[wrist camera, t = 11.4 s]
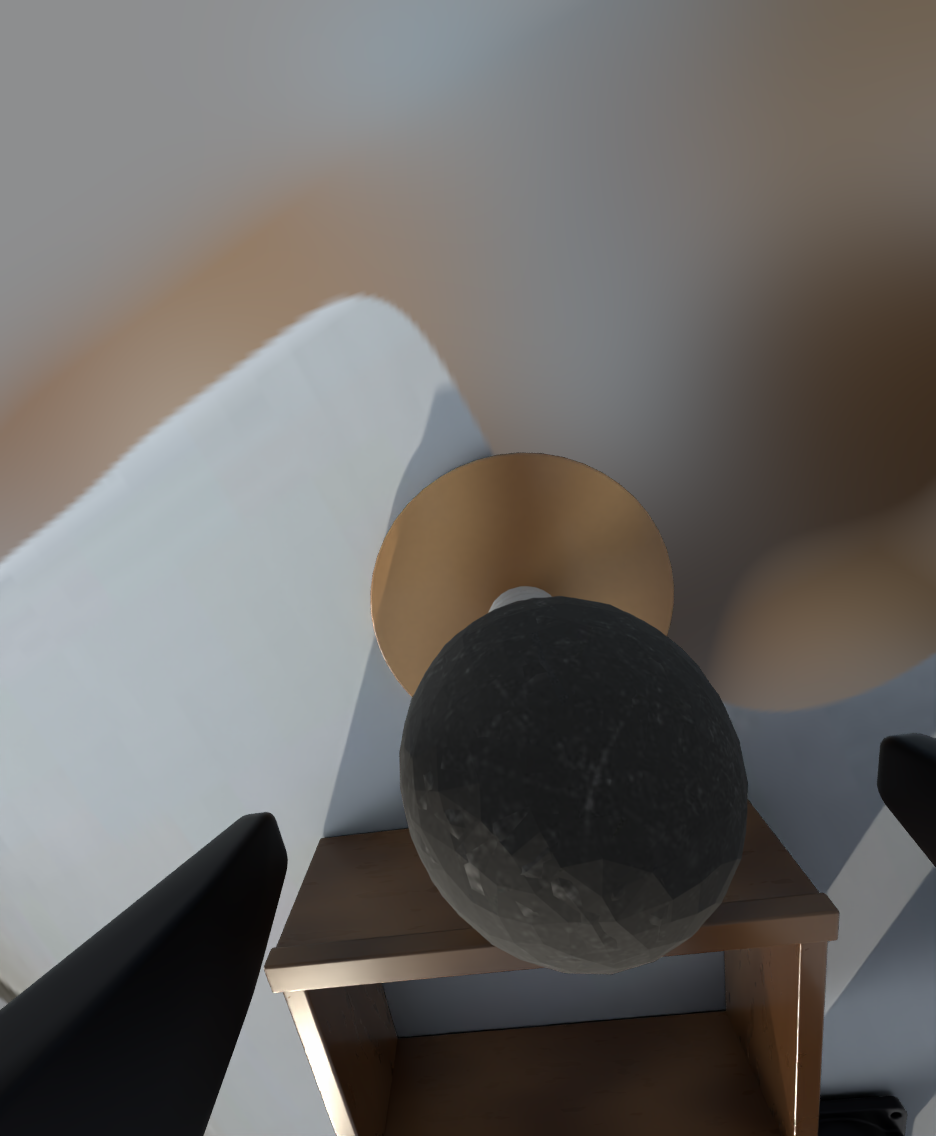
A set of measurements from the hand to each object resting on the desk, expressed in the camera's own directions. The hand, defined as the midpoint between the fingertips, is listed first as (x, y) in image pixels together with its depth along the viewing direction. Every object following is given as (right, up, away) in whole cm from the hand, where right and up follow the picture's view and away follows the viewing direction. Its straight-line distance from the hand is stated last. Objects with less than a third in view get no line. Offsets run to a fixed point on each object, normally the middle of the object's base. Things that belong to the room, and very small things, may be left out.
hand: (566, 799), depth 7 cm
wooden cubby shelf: (+2, -12, +12) cm, 18 cm away
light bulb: (0, +2, +8) cm, 9 cm away
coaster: (0, +2, +9) cm, 9 cm away
